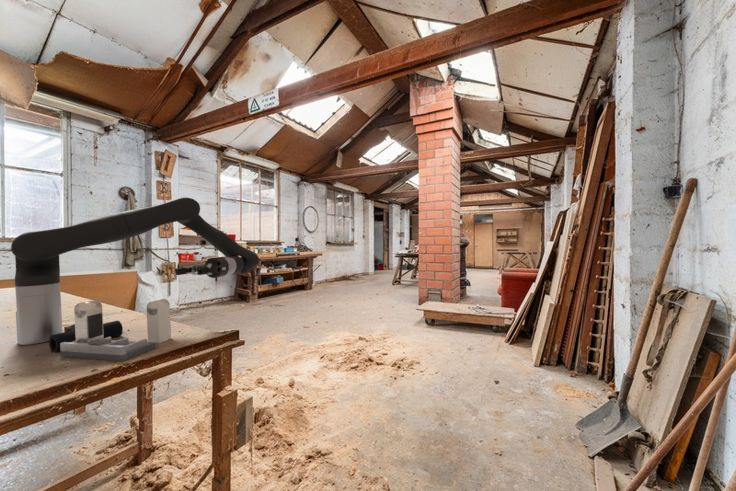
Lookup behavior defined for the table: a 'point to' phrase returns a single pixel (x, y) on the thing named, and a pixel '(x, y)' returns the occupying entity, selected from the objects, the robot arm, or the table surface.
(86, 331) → the bracket
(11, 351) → the table surface
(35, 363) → the table surface
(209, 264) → the robot arm
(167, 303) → the finger
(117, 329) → the pipe connector
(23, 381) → the table surface
